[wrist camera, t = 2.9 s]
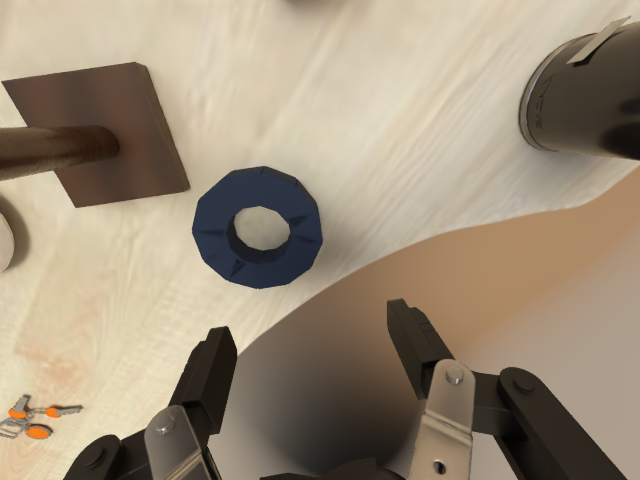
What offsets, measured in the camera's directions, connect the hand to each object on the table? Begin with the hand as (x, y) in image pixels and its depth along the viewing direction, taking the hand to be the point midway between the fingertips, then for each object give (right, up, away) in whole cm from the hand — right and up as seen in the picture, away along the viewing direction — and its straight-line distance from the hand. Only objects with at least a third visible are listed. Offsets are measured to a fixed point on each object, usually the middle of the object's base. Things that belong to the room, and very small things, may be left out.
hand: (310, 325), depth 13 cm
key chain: (-41, -21, +24) cm, 52 cm away
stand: (-18, +13, +10) cm, 24 cm away
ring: (-6, +6, +14) cm, 16 cm away
